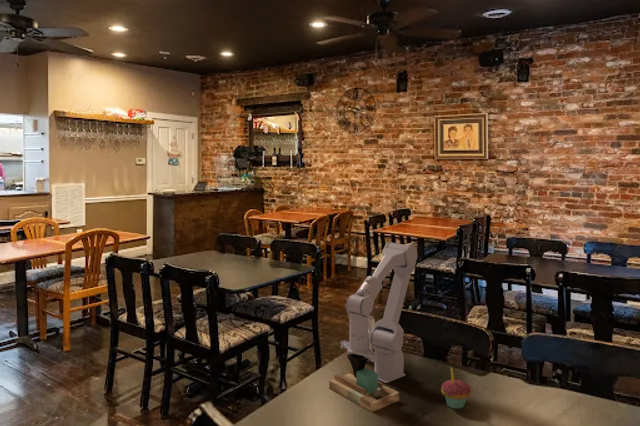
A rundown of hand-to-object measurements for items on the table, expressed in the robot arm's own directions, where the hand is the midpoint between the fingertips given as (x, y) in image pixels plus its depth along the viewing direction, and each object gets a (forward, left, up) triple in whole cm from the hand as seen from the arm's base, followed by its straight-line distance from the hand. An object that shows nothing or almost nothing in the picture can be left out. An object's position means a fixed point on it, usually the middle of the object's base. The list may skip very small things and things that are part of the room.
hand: (358, 376), depth 156 cm
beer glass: (-20, -17, -5) cm, 27 cm away
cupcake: (-17, +24, -5) cm, 29 cm away
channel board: (0, +2, -5) cm, 5 cm away
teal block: (0, +4, -2) cm, 4 cm away
